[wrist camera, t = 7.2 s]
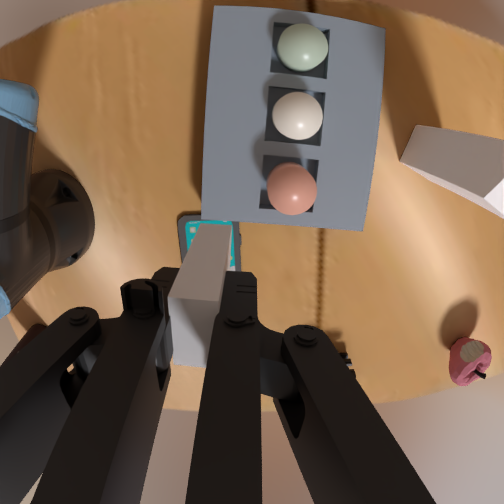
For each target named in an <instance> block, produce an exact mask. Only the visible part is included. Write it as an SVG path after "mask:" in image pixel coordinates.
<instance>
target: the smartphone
mask: <svg viewBox="0 0 504 504" xmlns="http://www.w3.org/2000/svg"><path fill="white" fill-rule="evenodd" d="M200 223H204V224H221V225H232V237H231V258H230V271H240V272H241V256H240V245H241V235H240V233H239V222H237V221H221V220H204V219H201V214H191V215H184V216H182V217H181V218H180V219H179V220H178V236H179V240H180V242H179V244H180V249H181V257H182V263H183V261H184V258H185V256H186V254H187V252H188V249H189V247H190V245H191V243H192V241H193V239H194V236H195V234H196V232H197V230H198V228H199V226H200Z"/></svg>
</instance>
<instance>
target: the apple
mask: <svg viewBox="0 0 504 504" xmlns="http://www.w3.org/2000/svg"><path fill="white" fill-rule="evenodd" d="M491 358H492V357H491V350H490V348H489V347H488V345H486V344H485V343H483V342H482V341H478V340H474V339H470V338H467V337H463V338H460V339H458V340H457V341H456V343H455V344H454V345H453V346H451V351H450V360H449V373H450V377H451V379H452V381H453V382H454V383H456V384H457V385H459V386H466V385H468V384H470V383H471V382H472V381H474V380H476V379H478V378H480V377H481V378H483V379H485V377H486V374H484V372H485V370H486V369H487V368H488V367H489V366H490V362H491Z"/></svg>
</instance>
